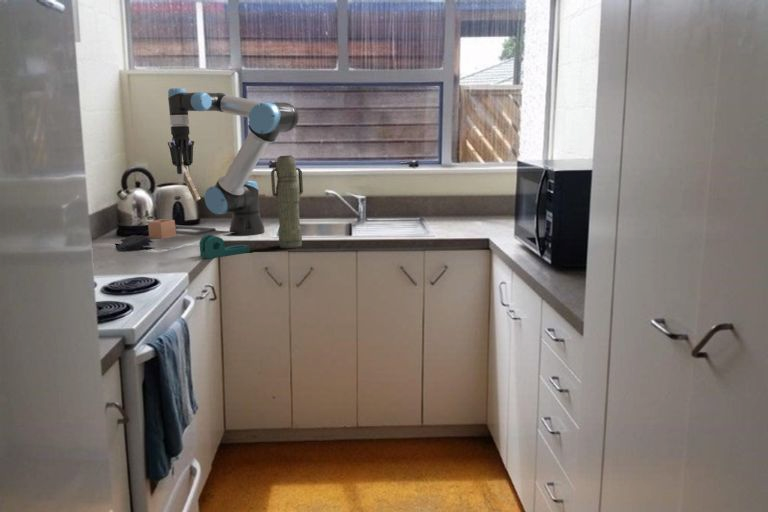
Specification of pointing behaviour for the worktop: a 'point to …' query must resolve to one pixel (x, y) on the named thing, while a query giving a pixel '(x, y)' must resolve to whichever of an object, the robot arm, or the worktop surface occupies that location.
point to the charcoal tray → (204, 229)
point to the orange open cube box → (161, 228)
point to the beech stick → (190, 185)
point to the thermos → (288, 201)
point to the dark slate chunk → (134, 243)
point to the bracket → (219, 248)
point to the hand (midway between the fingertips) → (184, 181)
